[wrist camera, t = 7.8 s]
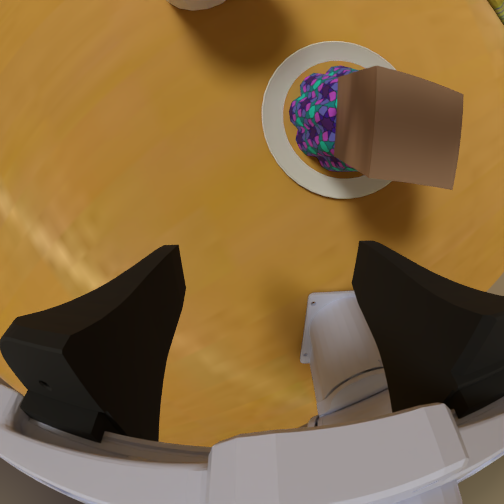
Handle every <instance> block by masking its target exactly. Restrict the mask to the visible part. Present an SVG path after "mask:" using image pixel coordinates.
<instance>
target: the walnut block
mask: <svg viewBox="0 0 504 504" xmlns="http://www.w3.org/2000/svg"><path fill="white" fill-rule="evenodd" d="M462 114H463V94H461V93H459V92H456V91H454V90H451V89H449V88H446V87H444V86H441V85H439V84H436V83H433V82H431V81H428V80H425V79H422V78H419V77H416V76H413V75H410V74H406V73H403V72H399V71H396V70H392V69H389V68H385V67H381V66H373V67H370V68H366V69H363V70H359V71H356V72H353V73H350V74H347V75H344V76H340V77H338V93H337V115H336V132H335V146H334V157H336V158H338V159H339V160H341V161H343V162H344V163H346V164H348V165H349V166H351V167H352V168H354V169H356V170H357V171H359V172H360V173H362V174H363V175H365V176H366V177H368V178H373V179H382V180H390V181H398V182H406V183H413V184H420V185H426V186H433V187H439V188H445V189H450V190H452V189H453V184H454V179H455V173H456V167H457V161H458V154H459V146H460V138H461V127H462Z"/></svg>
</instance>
